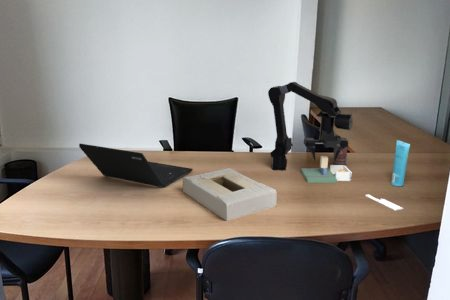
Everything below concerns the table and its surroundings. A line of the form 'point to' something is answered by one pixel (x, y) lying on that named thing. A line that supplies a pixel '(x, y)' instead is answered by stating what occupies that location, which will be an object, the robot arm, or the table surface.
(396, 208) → the white plastic strip tool
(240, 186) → the box
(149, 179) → the laptop
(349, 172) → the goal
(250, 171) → the table surface
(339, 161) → the can
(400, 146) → the tube
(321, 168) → the beige and blue block
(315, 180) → the panel
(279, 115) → the robot arm
